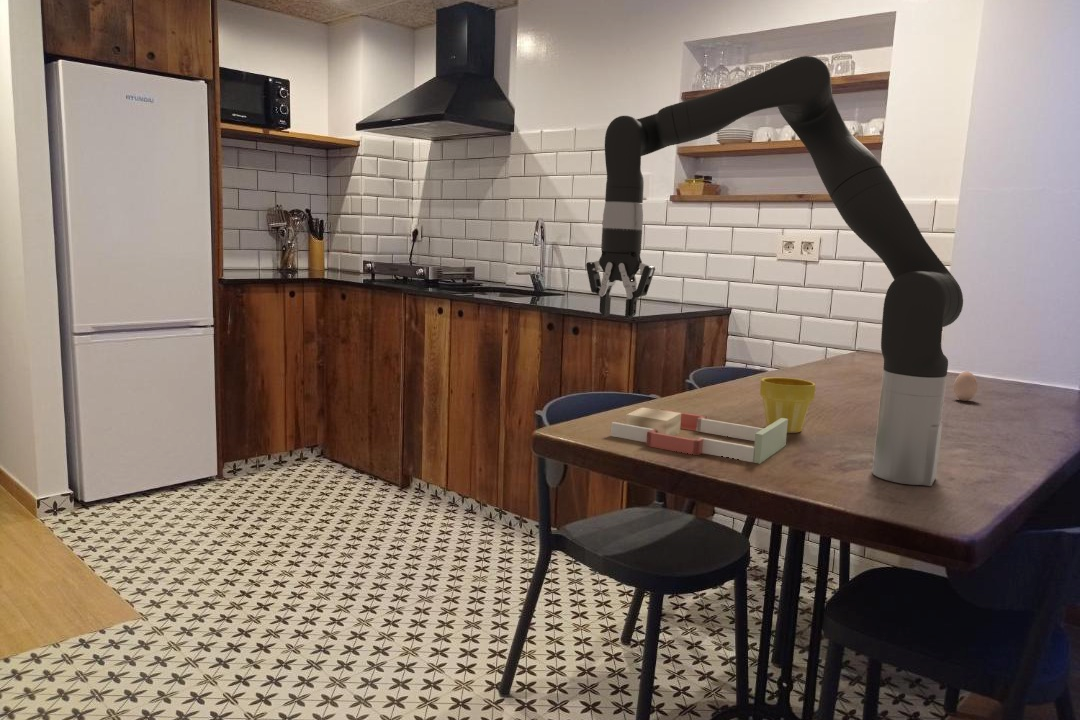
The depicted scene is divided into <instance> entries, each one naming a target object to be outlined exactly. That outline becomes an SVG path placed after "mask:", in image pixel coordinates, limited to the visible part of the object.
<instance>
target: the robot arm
mask: <svg viewBox="0 0 1080 720" xmlns="http://www.w3.org/2000/svg"><path fill="white" fill-rule="evenodd" d="M832 89H833V88H832V80H831V74H830V69H829V67H828V66H827V63H825V62H824V61H823V59H820V58H818V57H815V56H812V55H804V56H803V55H802V56H798V57H795V58H791V59H790V60H786V61H784V62H782V63H780V64H777V65H776V66H774V67H773V66H772V67H771V68H769V69H767V70H765V71H762V72H760V73H758V74H756V75H754V76H751V77H749V78H747V79H744V80H742V81H739V82H737V83H735V84H733V85H730V86H727V87H725V88H723V89H720V90H717V91H714V92H712V93H708V94H706V95H702V96H699V97H696V98H692V99H688V100H685V101H681V102H678V103H674V104H670V105H668V106H665V107H662V108H660V110H658V111H657V113H653V114H650V115H647V116H644V117H640V118H635V117H632V116H630V115H620V116H617V117H616V118H614V119H613V120H611V121H610V123H609V125H608V126H607V128H606V131H605V137H604V159H605V168H606V183H605V197H604V198H605V200H604V201H605V202H604V209H603V214H602V221H601V222H602V223H601V224H602V228H601V229H602V230H601V249H600V250H601V256H600V257H599V260H595V261H588V262H587V263H586V265H585V266H586V267H585V268H586V271H587V277H588V278H587V279H588V282H589V287H590V291H591V292H592V293H594V294H597V295H598V296H599V313H600V314H601V317H610V315H611V302H612V299H611V298H612V297H611V296H610V295H611V293H612V290H613V287H614V286H615V284H616V281H619V282H622V285H623V288H625V293H626V299H625V311H624V312H625V313H624V318H625V319H626V320H631V319H634V317H635V316H636V314H637V301H638V299H639V298H642V297H644V296H647V294H648V292H649V288H650V285H651V284H652V283H651V282H652V280H653V277H654V274H655V271H656V267H655V266H654V265H648V264H646V263H643V261H642V259H641V252H642V242H643V241H642V240H643V226H644V225H643V224H644V223H643V222H644V209H643V207H644V206H643V205H644V204H643V202H644V182H645V181H644V176H643V174H642V170H641V168H642V163H641V162H642V157H643V156H646V155H649V154H652V153H655V152H657V151H660V150H663V149H665V148H668V147H670V146H676V145H680V144H683V143H688V142H691V141H694V140H698V139H701V138H706V137H707V136H710V135H713V134H715V133H717V132H719V131H720V130H723V129H725V128H726V127H727V126H730V124H733V123H734V122H736V121H737V120H739V119H742V118H743V117H746V116H749V115H750V114H753V113H755V112H758V111H759V112H760V111H761V110H766V109H772V108H778V111H779V114H781V116H782V118H784V119H783V120H785V122H786V123H787V125H789V126H790V128H791V129H792V131H793V132H794V133H795V135H796V136H797V137H798V138H799V140H800V142H802V144H803V145H804V147H805V148H806V150H807V151H808V153H809V155H810V157H811V159H812V161H813V163H814V166H815V168H816V170H817V173H818V175H819V177H820V179H821V182H822V183H823V186H824V188H825V189H826V191H827V193H828V195H829V197H830V199H831V201H832V203H833V204H834V206H835V208H836V209H837V211H838V213H839V215H840V217H841V218H842V220H844V222H845V224H846V225H847V226H848V228H849V229H850V230H851V231H853V233H854V234H855V235H856V236H857V237H858V238H859V239H860V240H861V241H862V242H863V243H864V244H865V245H867V246H868V247H869V248H870V250H872V251H873V252H874V253H875V254H876V256H878V257H879V258H880V260H881V261H882V262H883V264H884V265H885V266H886V269H888V271H889V273H890V274H891V276H892V278H893V281H892V282H891V283H890V284H889V286H888V288H887V291H886V294H885V297H884V302H883V308H882V323H881V336H880V337H881V338H880V348H881V354H882V357H883V370H882V376H881V377H882V378H881V388H880V393H879V394H880V396H879V403H878V413H877V423H876V424H877V425H876V433H875V441H874V450H873V451H874V452H873V458H872V468H871V470H872V471H871V473H872V475H874V476H875V477H877V478H880V479H882V480H885V481H888V482H893V483H898V484H902V485H903V484H904V485H913V486H914V485H915V486H919V485H920V486H927V487H932V486H933V484H934V482H935V481H936V478H937V473H938V472H937V471H938V462H939V454H940V446H941V445H940V444H941V437H942V431H943V420H942V417H943V409H944V408H943V407H944V401H945V394H946V385H947V377H948V376H947V375H948V369H949V360H948V357H946V355H945V354H944V352H943V348H942V339H943V338H942V337H943V328H945V327H947V326H950V325H951V324H953V323H954V322H955V321H957V319H958V318H959V316H960V315H961V313H962V311H963V305H964V294H963V292H962V291H963V290H962V289H961V286H960V284H959V283H958V281H957V280H956V278H955V277H954V275H953V274H951V273H952V272H950V271H949V270H948V268H947V267H946V266H945V265H944V263H943V262H942V260H940V257H938V255H937V254H936V253H935V252H934V250H933V249H932V247H931V246H930V245H929V244H928V242H927V240H926V239H925V237H924V236H923V234H922V233H921V231H920V229H919V227H918V225H917V223H916V222H915V220H914V218H913V217H912V214H911V213H910V211H909V209H908V208H907V206H906V204H905V202H904V201H903V200H902V197H901V196H900V194H899V192H898V190H897V188H896V186H895V185H894V183H893V181H892V179H891V178H890V177H889V174H888V173H887V172H886V170H885V168H884V167H883V165H882V163H881V162H880V161H879V159H877V157H876V156H875V155H874V154H873V153H872V152H871V150H870V149H868V148H867V147H866V146H865V145H864V144H863V143H861V141H859V140H858V139H857V138H856V137H855V136H854V135H853V134H852V132H851V131H850V129H848V126H847V125H846V123H845V121H844V119H843V117H842V116H841V113H840V112H839V109H838V107H837V105H836V101H835V100H834V95H833V91H832ZM601 269H602V272H603V275H602V276H603V277H602V279H601V276H600V271H601ZM639 271H640V272H639ZM638 272H639V275H641V276H640V279H639V282H637V278H636V274H637V273H638Z"/></svg>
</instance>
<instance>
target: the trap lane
mask: <svg viewBox="0 0 1080 720" xmlns="http://www.w3.org/2000/svg"><path fill="white" fill-rule="evenodd" d="M660 410H663V411H670V412H677V413H681V425H680V430H681V429H682V430H686V431H688V430H689V431H693V432H700V433H706V434H710V435H711V434H712V435H717V436H723V437H727V436H728V437H729V438H734V439H739V440H746V441H751V442H754V445H753V446H752V445H746V444H742V443H741V444H740V443H734V442H729V441H724V440H718V439H712V438H706V437H701V436H700V437H699V438H697V439H694V438H689V437H688V438H687V437H682V436H677V435H674V436H672V435H667V434H661V433H658V430H656V429H650V428H645V427H639V426H633V425H628V424H626V423H622V422H616V421H612V422H611V424H610V425H611V426H610V427H611V429H610V437H615V438H621V439H625V440H630V441H635V442H642V443H646V447H650V448H657V449H661V450H667V451H673V452H676V451H677V453H681V452H682V454H687V453H688V455H692V454H693V456H697V455H698V456H699V455H701V454H705V455H710V456H711V455H712V456H715V457H716V456H717V457H721V456H723V457H722V458H726V457H729V458H728V459H732V458H734V459H733V460H737V459H739V460H738V461H742V462H743V461H744V462H749V463H755V464H759V465H760V464H762V463H763V462H765V461H766V460H767V459H769V458H770V457H772V456H773V455H774V454H776V453H777V452H779V451H780V450H782V449H783V448H784V447H786V443H787V434H788V433H787V425H788V419H785V418H780V419H779V420H777V421H775V422H774V423H772V424H770V425H769V426H767V425H766V427H764V428H763V427H758V426H751V425H746V424H740V423H739V424H738V423H732V422H727V421H721V420H714V419H708V418H707V416H705V415H699V414H695V413H694V414H692V413H687V412H680V411H675V410H668V409H663V408H662V409H661V408H660Z"/></svg>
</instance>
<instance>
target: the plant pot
mask: <svg viewBox="0 0 1080 720" xmlns="http://www.w3.org/2000/svg"><path fill="white" fill-rule="evenodd" d="M759 387H760V388H759V395H760V397H762V400H763V402H762V403H763V409H764V415H765V416H764V417H765V423H766V427H767V426H769V425H770V424H772V423H774V422H775V421H777V420H779V419H780V418H785V419H788V425H787V434H794V433H795V434H796V433H800V432H802V430H803V427H804V424H805V420H806V417H807V414H808V411H809V407H810V403H811V402H813V401H814V399H815V394H816V383H814V382H812V381H811V380H805V379H800V378H792V377H782V376H781V377H775V376H774V377H773V376H771V377H763V378H761V379H760V386H759Z"/></svg>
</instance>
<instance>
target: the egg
mask: <svg viewBox="0 0 1080 720" xmlns="http://www.w3.org/2000/svg"><path fill="white" fill-rule="evenodd" d="M978 386H979V385H978V381H977V378H976V376H975V375H974V374H973V373H972V372H970V371H963V372H961V373H960V374H959V375H957V377H956V379H955V380H954V383H953V387H952V388H953V392H954V395H955V396H956V398H957V399H958V400H960V401H962V402H968V401H970V400H972V399H973V398H974V397H975V396H976V394H977V393H978V388H979V387H978Z"/></svg>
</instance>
